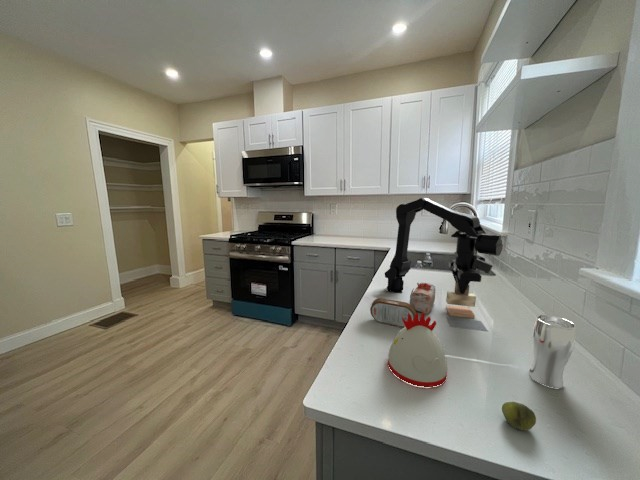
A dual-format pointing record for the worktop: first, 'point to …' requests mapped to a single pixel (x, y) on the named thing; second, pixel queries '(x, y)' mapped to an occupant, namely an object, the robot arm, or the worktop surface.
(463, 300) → the cream brown stepped block
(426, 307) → the food item
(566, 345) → the beer glass
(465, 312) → the tile
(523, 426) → the lime
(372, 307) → the tin
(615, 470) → the worktop surface
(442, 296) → the worktop surface
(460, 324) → the pad
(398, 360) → the kitchen timer
